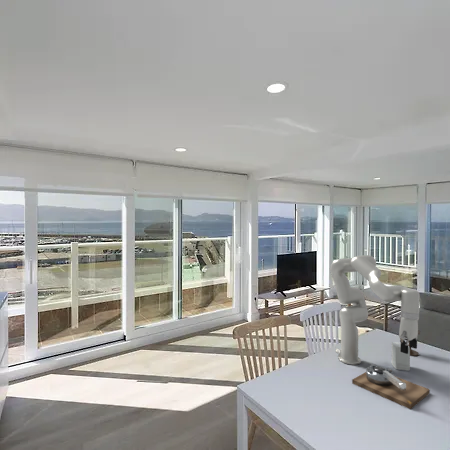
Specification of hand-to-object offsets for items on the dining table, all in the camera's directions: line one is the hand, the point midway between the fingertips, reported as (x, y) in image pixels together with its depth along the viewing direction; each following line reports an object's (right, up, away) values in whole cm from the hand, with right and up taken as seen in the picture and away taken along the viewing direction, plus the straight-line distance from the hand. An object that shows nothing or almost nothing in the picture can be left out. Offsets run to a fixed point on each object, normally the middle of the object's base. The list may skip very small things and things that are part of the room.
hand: (408, 350), depth 147 cm
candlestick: (+27, -20, +43) cm, 55 cm away
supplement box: (+10, -20, +24) cm, 33 cm away
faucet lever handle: (-10, -17, 0) cm, 20 cm away
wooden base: (-8, -20, +2) cm, 21 cm away
